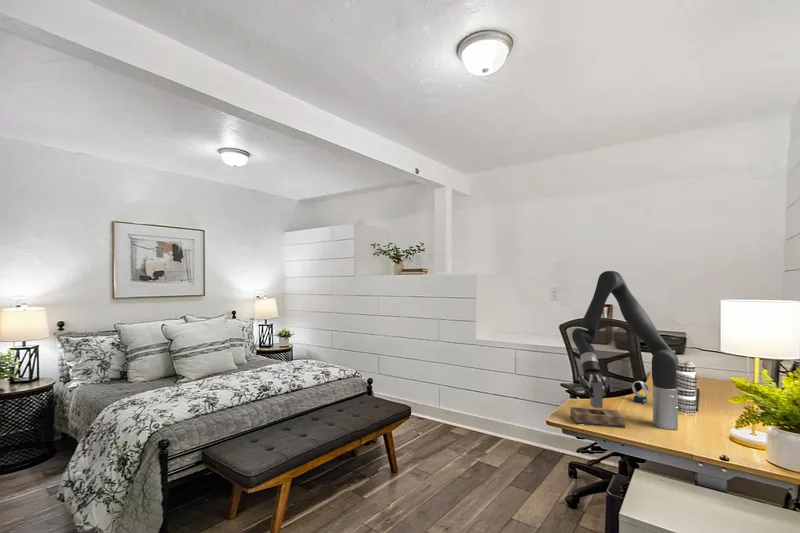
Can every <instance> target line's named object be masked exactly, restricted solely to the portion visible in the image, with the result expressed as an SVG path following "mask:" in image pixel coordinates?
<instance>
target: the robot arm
mask: <svg viewBox="0 0 800 533" xmlns="http://www.w3.org/2000/svg"><path fill="white" fill-rule="evenodd" d="M596 282H597V283H596V286H595V290H594V294H593V296H592V299H591V300H590V304H589V306H588V308H587V310H586V312H585V314H584V316H583V318H582V321H581V323H582V324H583V326H584V327H587V329H583V328H578V327H576V328H574V330H573V331H572V333H571V339H572V341H573V343H574V345H575V347H576V348H577V350H578V352H579V357H580V365H581V370H582V374H583V375H581V374H579V375H578V377H577V381H578V382H579V384H580V385H581V387H582V389H584V390H587V392H588V396H589V397H590V396H591V398H593V397H594V394H593V390H592V388H591V387H592V386H591V381H601V382H602V383H604V385H603V400H604V399H605V398H606V391H607V390H608V388H609V386H610V385H609V384H610V377H609V376H603V374H602V371H601V368H600V364H599V359H598V358H597V355H596V350H595V348H594V346H593V345H592V344H593V343H594V342H595V340H596V335H597V334H596V333H597V329H598V328H597V327H598V325H599V322H600V321H601V319H602V316H603V313H604V309H605V307H606V306H605V305H606V302H607V300H608V298H609V296H610V294H612V296H613V297H614V298H615V300H616V301H617V304H618V307H619V309H620V312H621V314H622V317H623V319H624V320H625V322H626V324H627V325H628V327H629V328H630V329H631V330H632V332H634V334H635V335H636V336H637V337H638V338H639V339H640V340H641V341H642V342H643V343H644V344H645V345H646V347H647V348H648V350H649V353H651V355H652V357H651V379H652V425H654V426H655V427H658V428H661V429H666V430H677V431H678V430H679V413H678V383H677V371H676V367H677V365H678V362H679V358H678V356H677V355H676V353H675V351H674V350H673V349H672V348H671V347H670V346H669V345H668V344H667V342H665V340H664V339H663V337H662V336H661V334H660V333H659V331H658V330H657V328H656V325H654V323H653V321H652V320H651V318H650V316H649V314H647V312H646V311H645V309H644V308H643V307H642V305H641V304H640V303H639V301H638V300H637V299H636V298H635V297H634V294H632V292H631V291H630V290H629V287H628V286H627V283H626V282H625V280H624V278H623V276H622V275H621V274H620V273H619V272H617V271H615V270H606V271H603V272H602V273H601V274H599V276H598V278H597V281H596ZM602 380H603V381H602ZM586 382H587V383H586Z"/></svg>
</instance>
